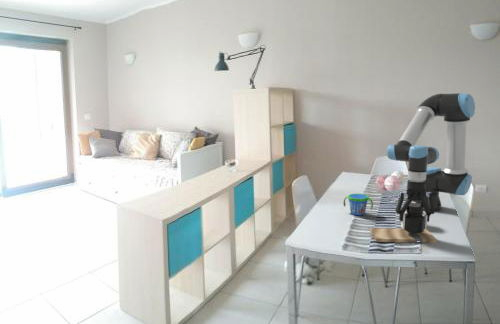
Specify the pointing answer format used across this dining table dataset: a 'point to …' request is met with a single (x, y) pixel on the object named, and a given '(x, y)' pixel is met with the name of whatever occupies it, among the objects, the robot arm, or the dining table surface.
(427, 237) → the plywood board
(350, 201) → the snack cup
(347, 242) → the dining table surface
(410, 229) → the ink bottle
